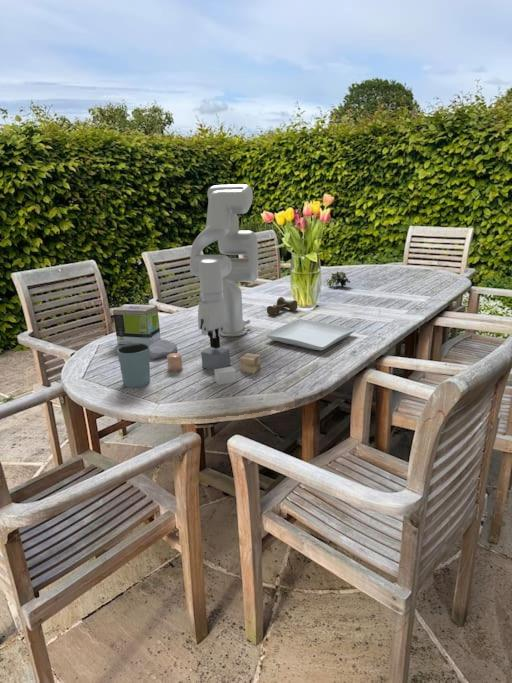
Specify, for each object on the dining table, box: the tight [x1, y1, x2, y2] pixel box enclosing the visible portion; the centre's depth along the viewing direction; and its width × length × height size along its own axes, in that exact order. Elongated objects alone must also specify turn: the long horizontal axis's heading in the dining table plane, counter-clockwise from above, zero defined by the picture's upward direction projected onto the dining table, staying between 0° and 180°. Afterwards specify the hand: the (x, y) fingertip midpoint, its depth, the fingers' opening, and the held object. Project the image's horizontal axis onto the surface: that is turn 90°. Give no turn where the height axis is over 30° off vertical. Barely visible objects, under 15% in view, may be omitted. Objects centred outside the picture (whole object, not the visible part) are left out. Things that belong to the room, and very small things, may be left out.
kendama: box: [266, 296, 299, 317], centre depth 227 cm, size 6×10×20 cm
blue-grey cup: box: [116, 343, 151, 389], centre depth 150 cm, size 10×10×12 cm
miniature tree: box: [326, 271, 351, 289], centre depth 272 cm, size 11×11×12 cm
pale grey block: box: [213, 366, 237, 386], centre depth 150 cm, size 6×4×4 cm, turn 111°
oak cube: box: [239, 352, 261, 374], centre depth 158 cm, size 5×5×5 cm
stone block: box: [149, 338, 178, 360], centre depth 176 cm, size 12×5×10 cm
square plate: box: [264, 318, 356, 351], centre depth 187 cm, size 27×27×4 cm
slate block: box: [200, 346, 231, 371], centre depth 162 cm, size 7×7×6 cm
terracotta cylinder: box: [166, 352, 184, 373], centre depth 161 cm, size 5×5×5 cm
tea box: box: [112, 303, 161, 346], centre depth 188 cm, size 15×10×15 cm
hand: (215, 347), depth 161 cm, fingers closed
